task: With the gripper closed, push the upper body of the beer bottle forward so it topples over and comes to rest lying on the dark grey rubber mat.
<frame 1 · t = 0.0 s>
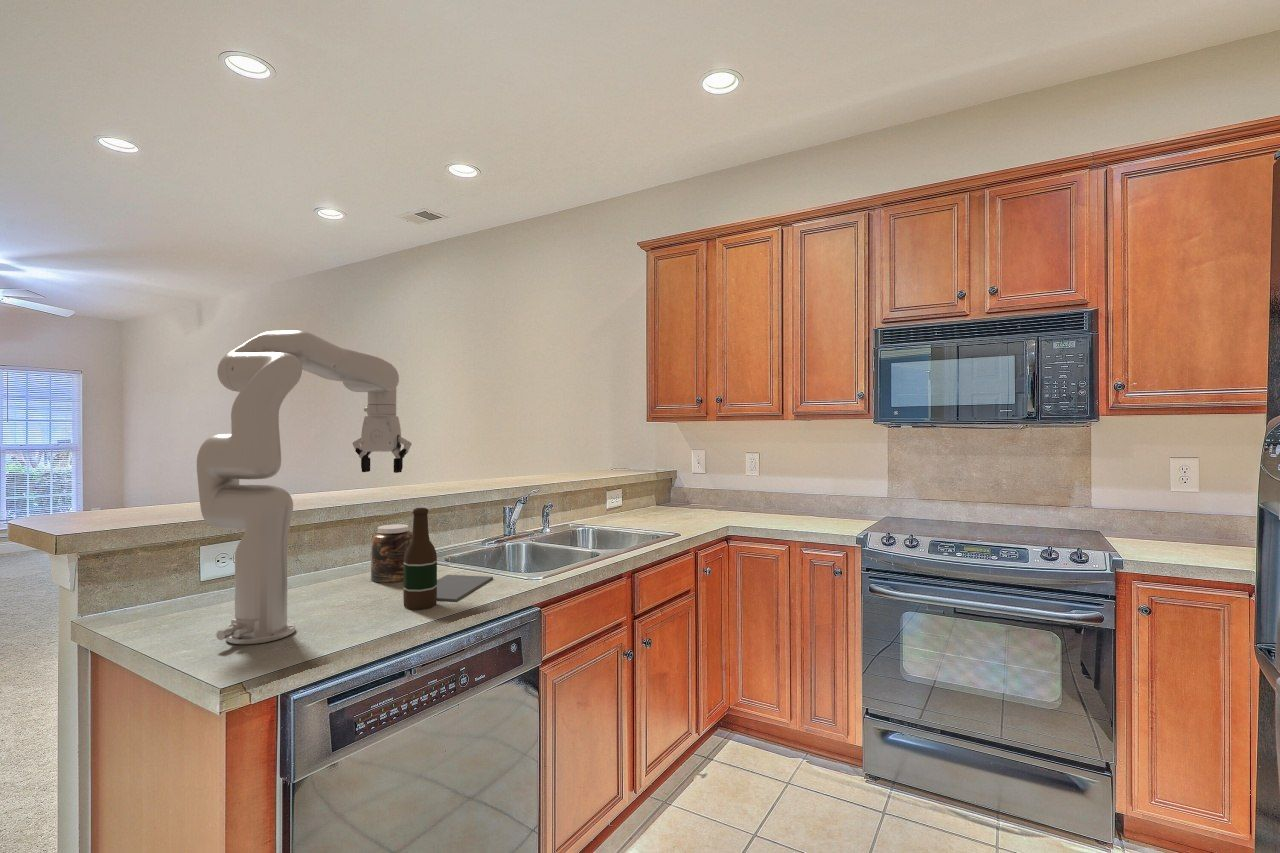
hand: (381, 472, 177), 31 cm above the worktop, tool pointing down, fingers open, 9 cm apart
jar: (392, 578, 183), on the worktop
mat: (451, 588, 172), on the worktop
beer bottle: (420, 606, 155), on the worktop
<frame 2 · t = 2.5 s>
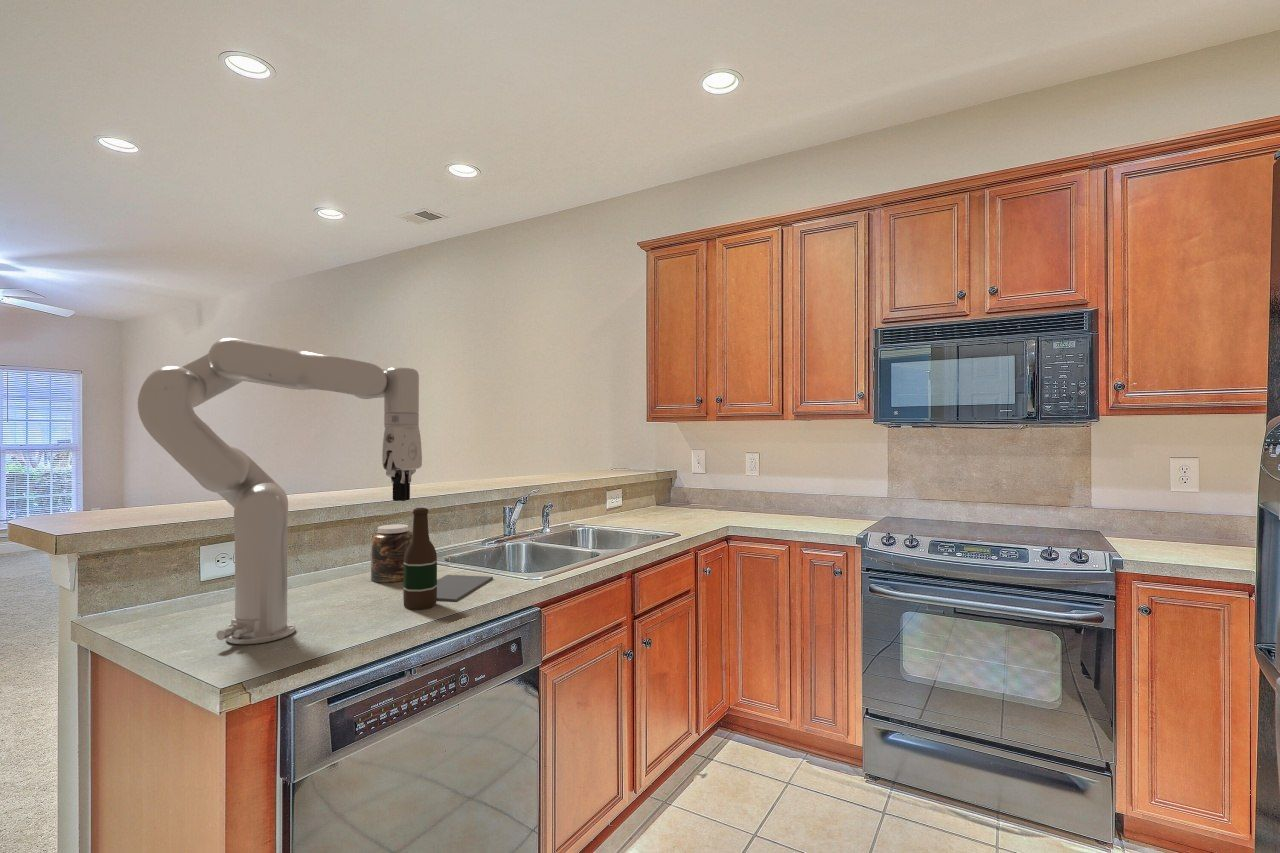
hand: (401, 500, 146), 27 cm above the worktop, tool pointing down, fingers closed
nothing on the worktop moved.
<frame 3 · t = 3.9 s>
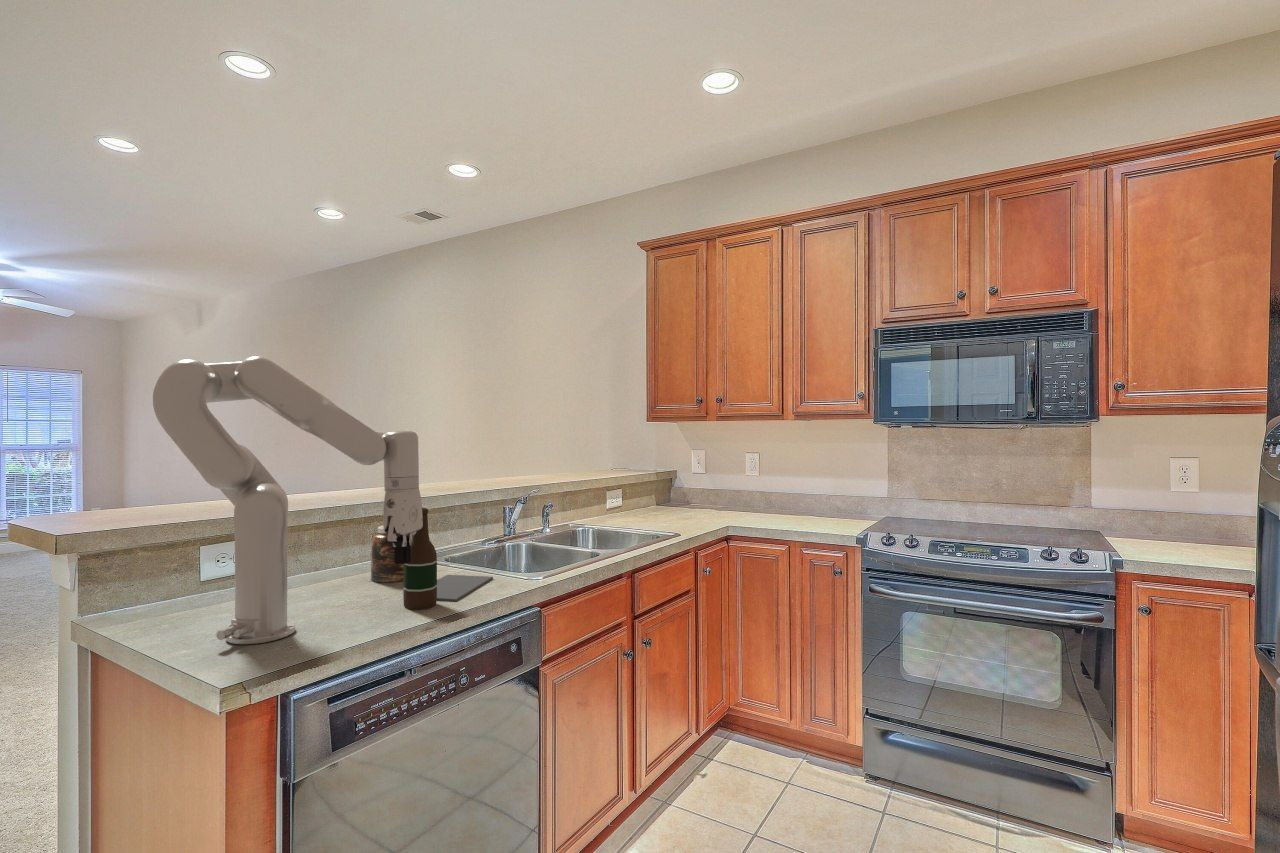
hand: (402, 562, 147), 12 cm above the worktop, tool pointing down, fingers closed
nothing on the worktop moved.
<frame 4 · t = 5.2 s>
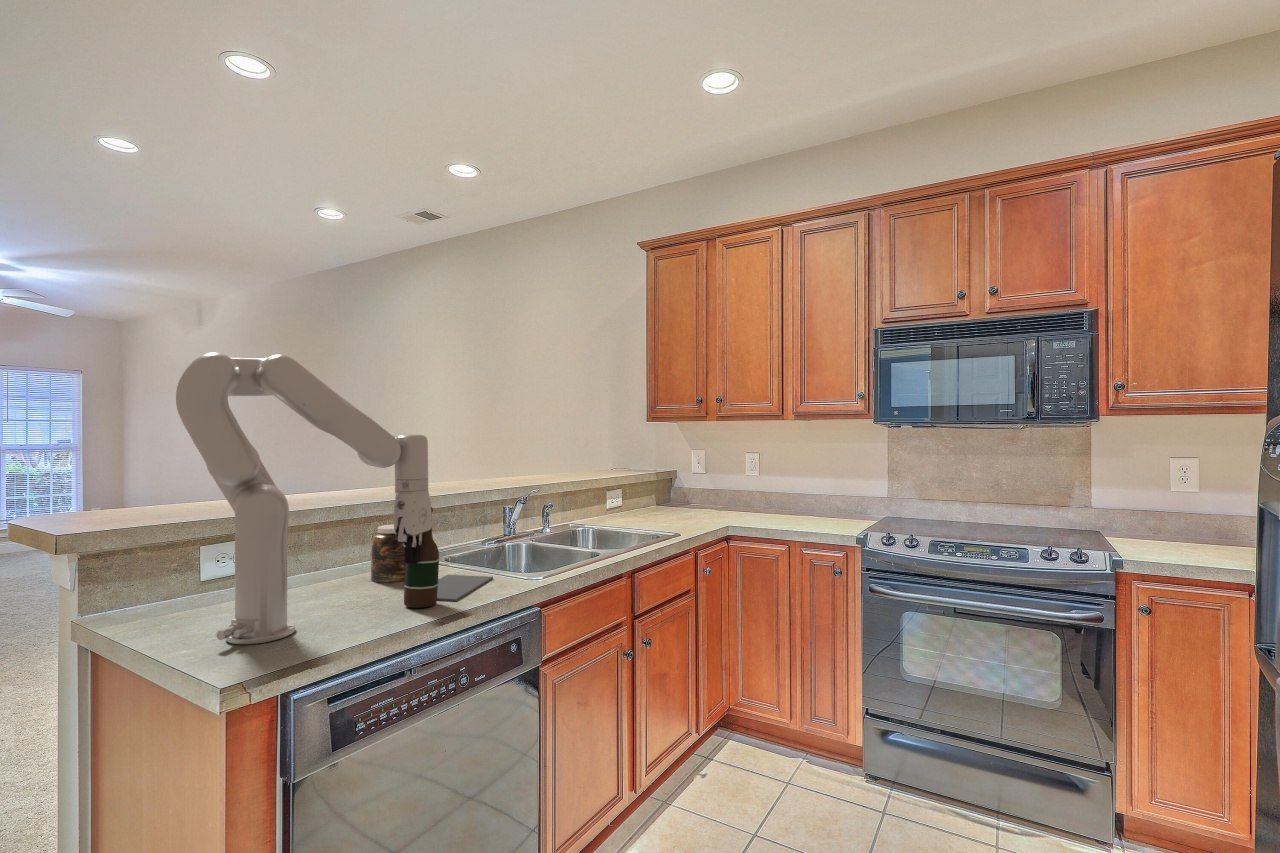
hand: (412, 562, 151), 12 cm above the worktop, tool pointing down, fingers closed
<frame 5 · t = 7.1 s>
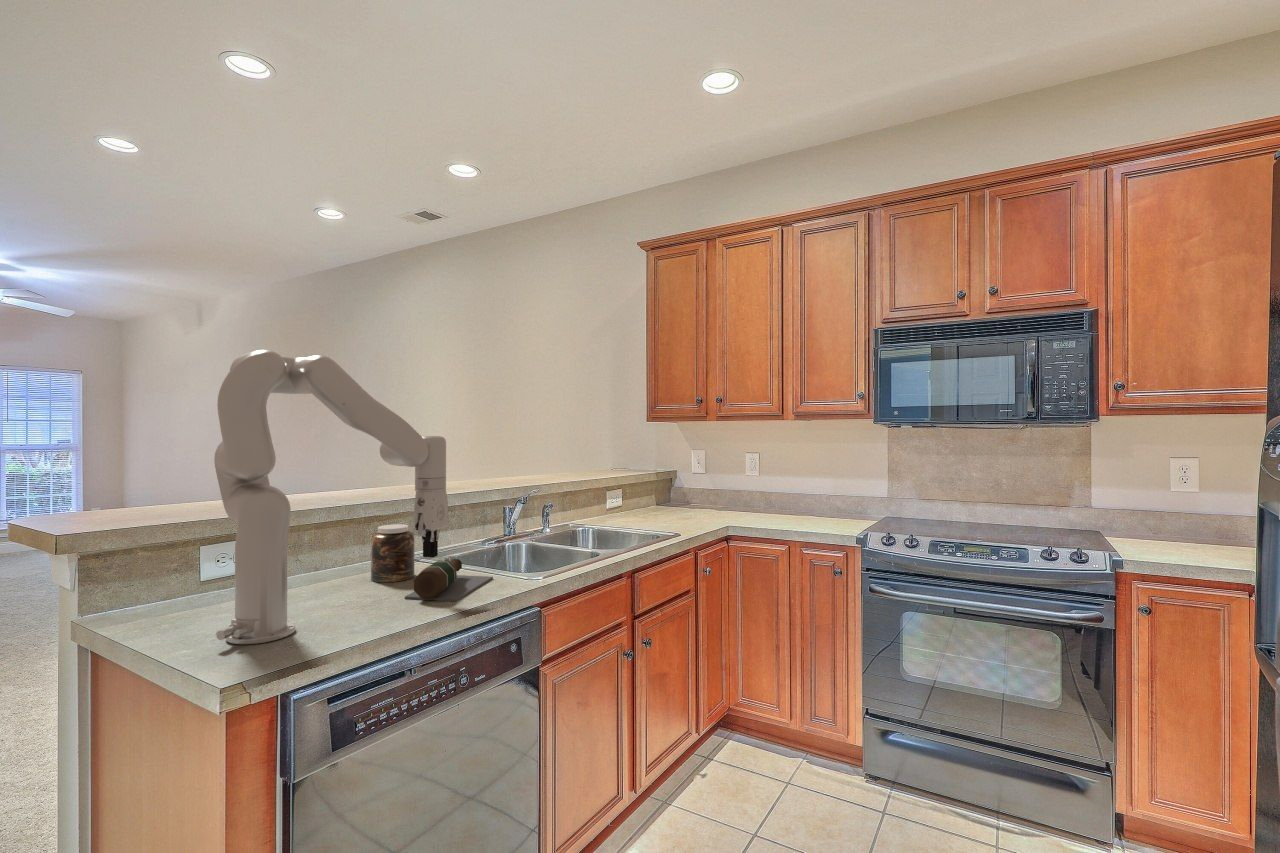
hand: (430, 556, 160), 11 cm above the worktop, tool pointing down, fingers closed
beer bottle: (426, 585, 158), point 4 cm above the worktop, touching mat
everything else where it was.
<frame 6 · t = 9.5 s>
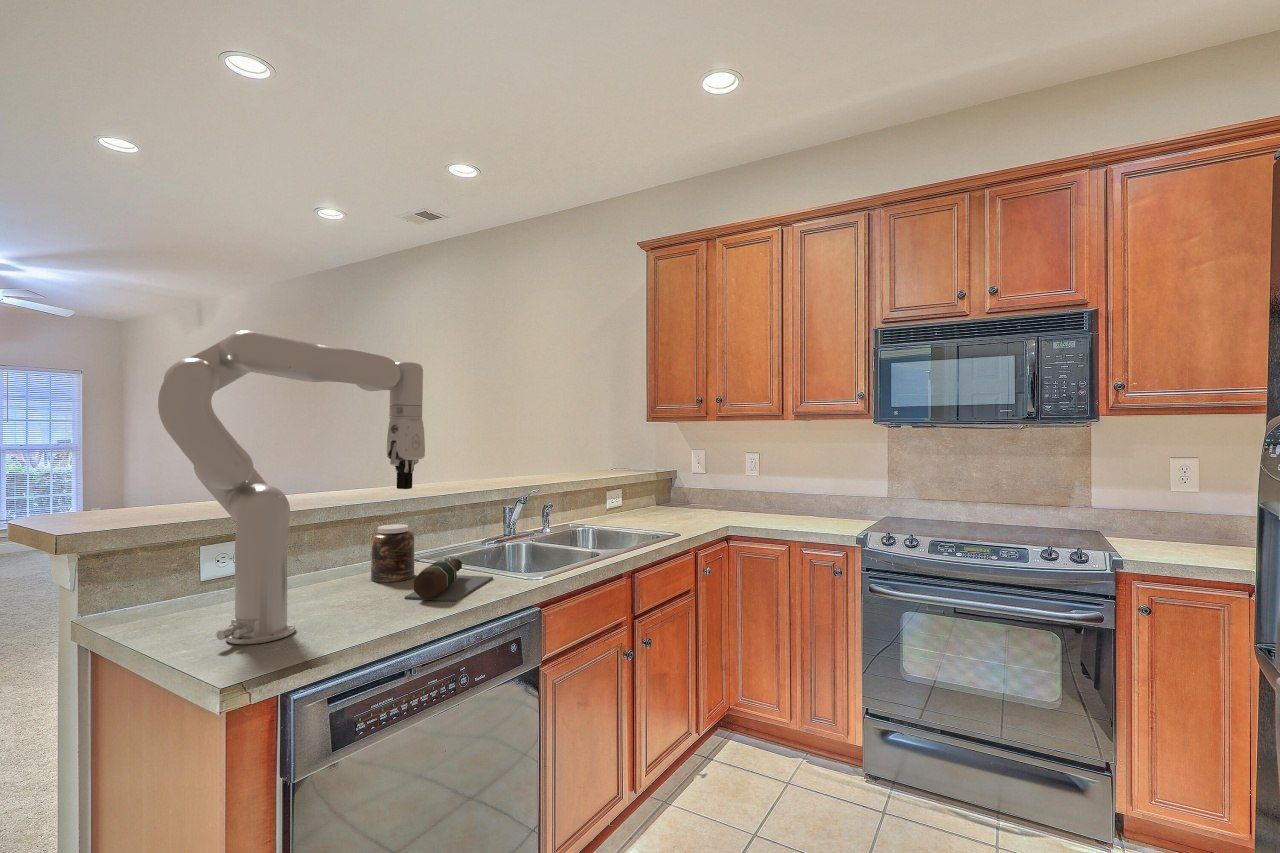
hand: (404, 488, 153), 29 cm above the worktop, tool pointing down, fingers closed
nothing on the worktop moved.
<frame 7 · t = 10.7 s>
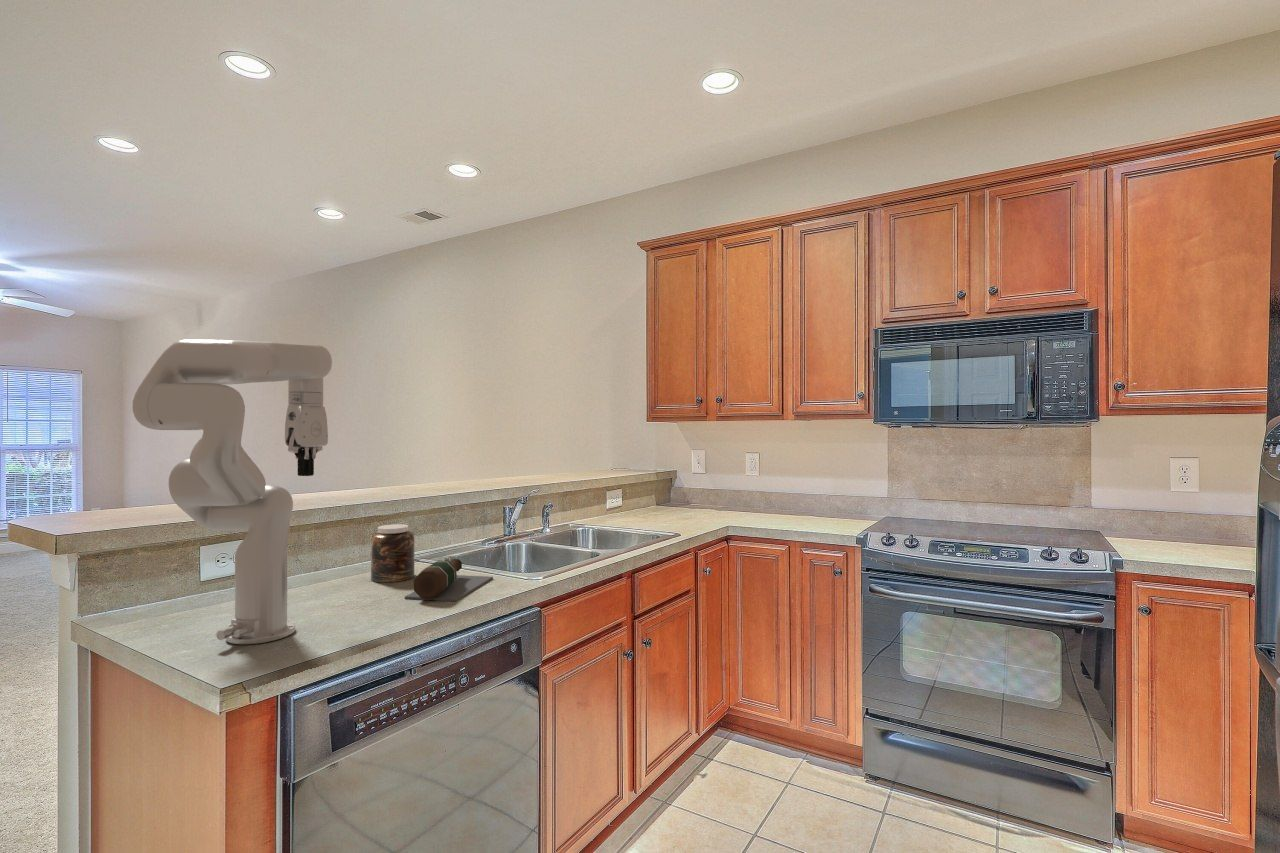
hand: (305, 475, 154), 32 cm above the worktop, tool pointing down, fingers closed
nothing on the worktop moved.
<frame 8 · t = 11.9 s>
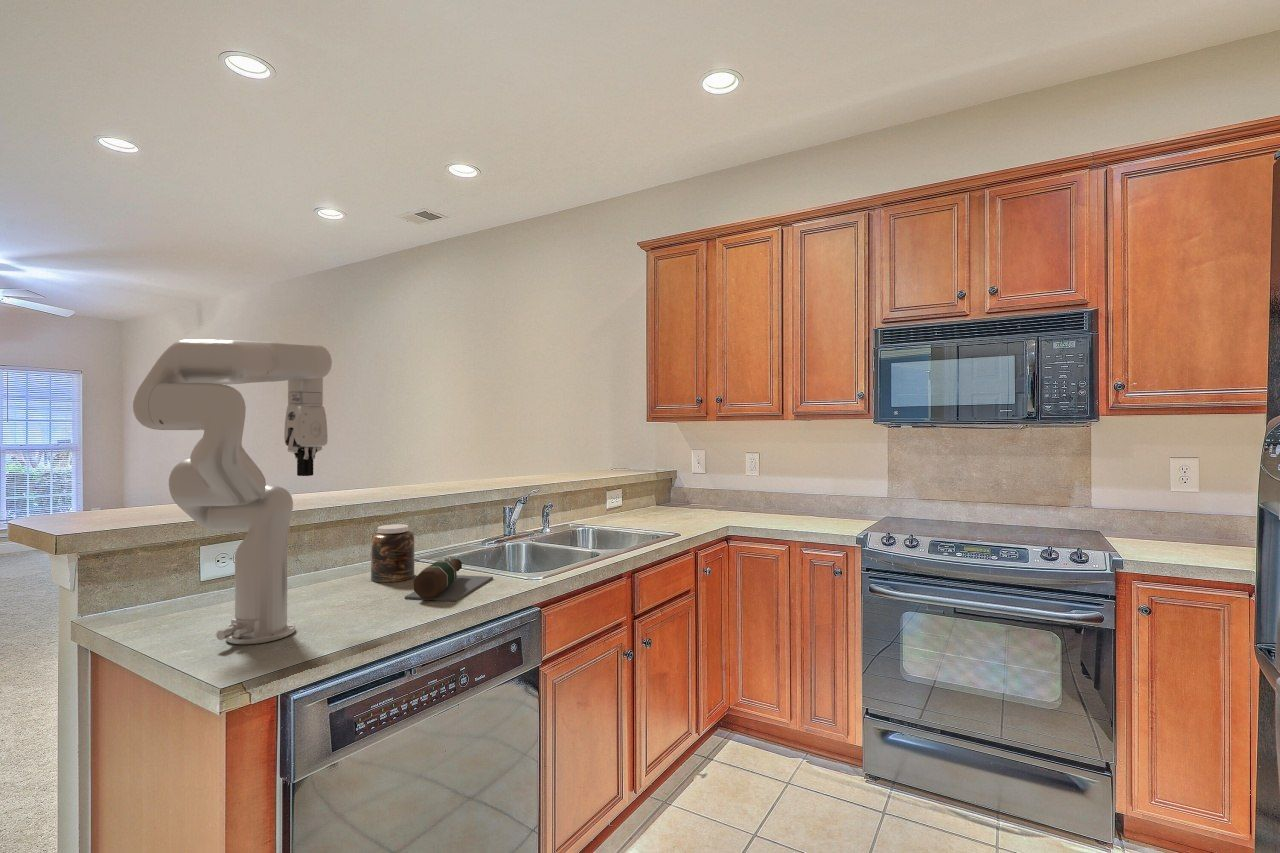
hand: (305, 475, 154), 32 cm above the worktop, tool pointing down, fingers closed
nothing on the worktop moved.
at the end: beer bottle tilted 90°; beer bottle inside the target area (8.9 cm from its centre), point 4.2 cm above the worktop; the gripper is holding nothing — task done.
